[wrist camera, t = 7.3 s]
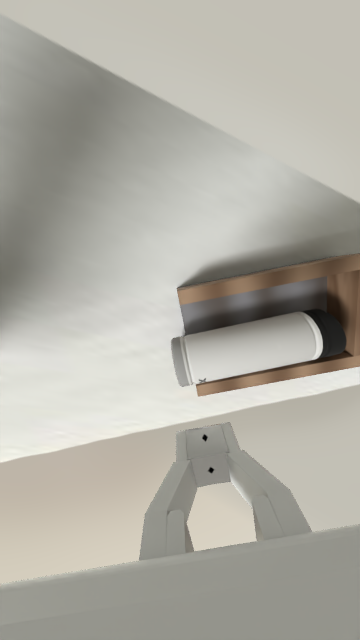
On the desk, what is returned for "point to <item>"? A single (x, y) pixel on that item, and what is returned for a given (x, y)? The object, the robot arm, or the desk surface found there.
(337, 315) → the u rest
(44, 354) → the desk surface
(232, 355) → the travel mug
